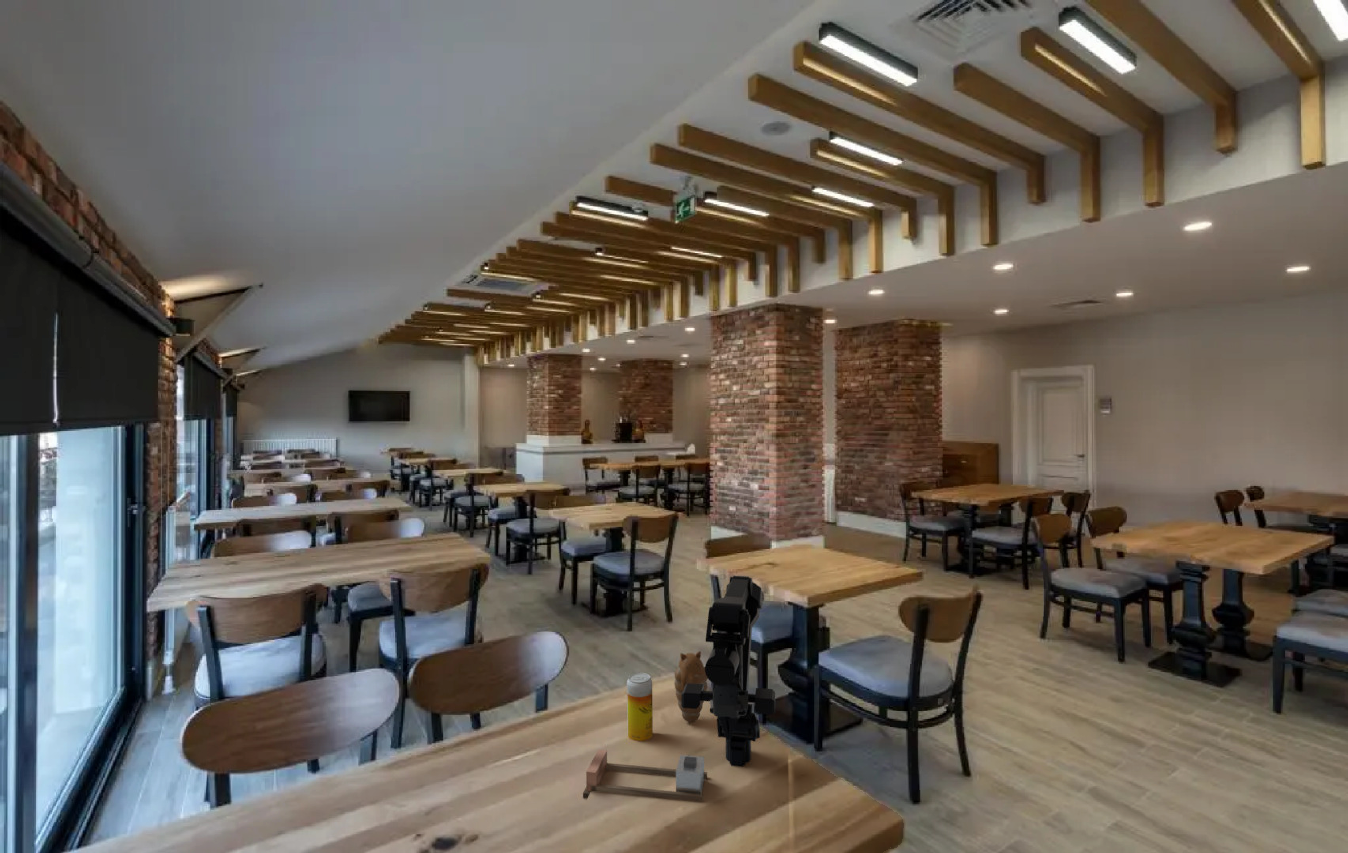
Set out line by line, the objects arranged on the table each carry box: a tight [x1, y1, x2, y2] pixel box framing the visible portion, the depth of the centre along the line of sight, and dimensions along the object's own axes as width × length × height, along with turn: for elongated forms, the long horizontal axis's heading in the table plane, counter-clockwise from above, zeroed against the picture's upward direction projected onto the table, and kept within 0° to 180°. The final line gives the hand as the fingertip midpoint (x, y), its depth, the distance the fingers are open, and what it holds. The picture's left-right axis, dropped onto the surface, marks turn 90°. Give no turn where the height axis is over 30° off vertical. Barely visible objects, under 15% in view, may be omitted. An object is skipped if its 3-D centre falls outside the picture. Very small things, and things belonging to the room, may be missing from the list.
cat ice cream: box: [674, 650, 709, 723], centre depth 158 cm, size 9×8×18 cm
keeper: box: [675, 754, 705, 794], centre depth 129 cm, size 6×5×6 cm
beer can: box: [626, 672, 654, 742], centre depth 150 cm, size 6×6×15 cm
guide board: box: [582, 749, 708, 803], centre depth 131 cm, size 10×25×5 cm, turn 80°
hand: (728, 739), depth 127 cm, fingers closed
